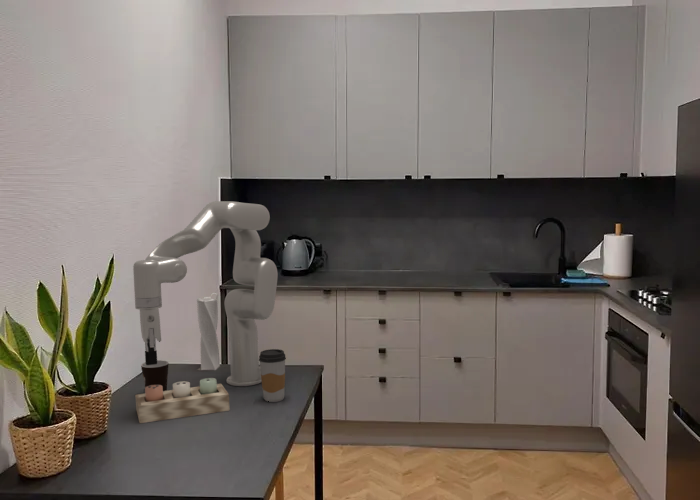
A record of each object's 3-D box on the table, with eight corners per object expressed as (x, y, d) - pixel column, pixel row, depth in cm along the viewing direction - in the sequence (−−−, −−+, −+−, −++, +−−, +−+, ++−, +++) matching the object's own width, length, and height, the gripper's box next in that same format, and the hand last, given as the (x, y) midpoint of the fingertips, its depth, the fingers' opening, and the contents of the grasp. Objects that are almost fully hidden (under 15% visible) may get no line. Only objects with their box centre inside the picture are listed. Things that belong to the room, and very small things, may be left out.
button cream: (189, 396, 225) (188, 379, 224) (191, 401, 220) (190, 384, 220) (172, 398, 223) (171, 382, 223) (174, 403, 218) (173, 386, 218)
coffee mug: (166, 397, 235) (164, 367, 234) (139, 398, 235) (137, 367, 234) (175, 386, 246) (173, 357, 245) (149, 387, 247) (148, 358, 246)
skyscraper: (225, 365, 272) (221, 291, 269) (218, 372, 264) (215, 294, 261) (202, 365, 273) (198, 291, 270) (196, 372, 265) (191, 295, 262)
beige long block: (222, 399, 232) (221, 383, 232) (229, 410, 221) (228, 394, 220) (136, 410, 223) (135, 394, 223) (139, 423, 212) (138, 406, 211)
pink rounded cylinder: (162, 400, 222) (161, 383, 221) (164, 404, 217) (163, 387, 217) (145, 402, 220) (144, 385, 220) (146, 407, 216) (145, 390, 215)
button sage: (215, 393, 228) (214, 376, 227) (218, 397, 223) (217, 380, 222) (199, 395, 226) (198, 378, 225) (201, 399, 221) (201, 383, 221)
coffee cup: (289, 394, 234) (287, 348, 233) (284, 403, 226) (282, 355, 224) (263, 394, 235) (261, 348, 234) (258, 403, 227) (255, 355, 225)
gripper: (164, 305, 210) (167, 368, 212) (158, 297, 224) (161, 357, 225) (137, 307, 207) (140, 371, 209) (133, 299, 221) (136, 359, 223)
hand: (151, 363), depth 217 cm, fingers closed
